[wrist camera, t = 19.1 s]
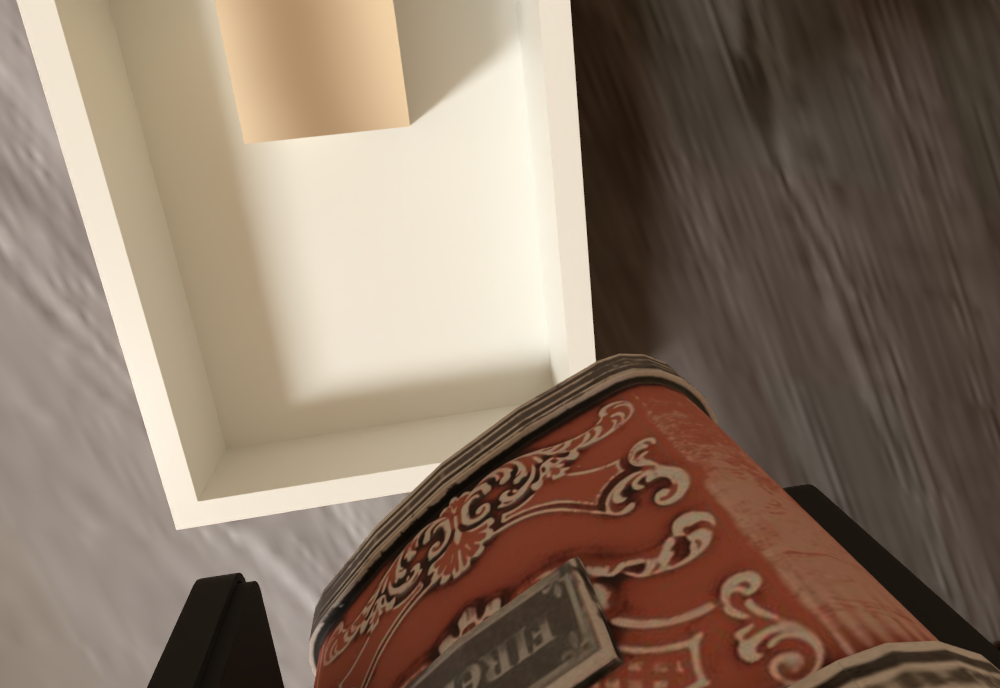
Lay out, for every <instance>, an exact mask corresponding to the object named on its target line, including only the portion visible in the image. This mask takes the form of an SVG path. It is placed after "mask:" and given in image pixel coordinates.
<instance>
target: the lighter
mask: <svg viewBox="0 0 1000 688" xmlns="http://www.w3.org/2000/svg"><path fill="white" fill-rule="evenodd" d="M309 664H310V666H311V669H312V671H313V673H314V676H315V683H314V688H1000V670H999V669H997V668H996V667H995V666H994V665H993V664H992V663H990V662H989V661H988V660H987V659H986V658H985V657H983V656H982V655H981V654H978V653H975V652H971V651H968V650H965V649H962V648H958V647H955V646H952V645H949V644H945V643H942V642H940V641H939V640H938V639H937V638H936V637H935V636H933V635H932V634H931V633H930V632H929V631H928V630H927V629H926V628H925V627H924V626H923V625H922V624H921V623H920V622H919V621H918V620H917V619H916V618H915V617H914V616H913V615H912V614H911V613H910V612H909V611H908V610H907V609H906V608H905V607H904V606H903V605H902V604H901V603H900V602H899V601H897V600H896V599H895V598H894V597H893V596H892V595H891V594H890V593H889V592H888V591H887V590H886V589H885V588H884V587H883V586H882V585H881V584H880V583H879V582H878V581H877V580H876V579H875V578H874V577H873V576H872V575H871V574H870V573H869V572H868V571H867V570H866V569H865V568H864V567H863V566H861V565H860V564H859V563H858V562H857V561H856V560H855V559H854V558H853V557H852V556H851V555H850V554H849V553H848V552H847V551H846V550H845V549H844V548H843V547H842V546H841V545H840V544H839V543H838V542H837V541H836V540H835V539H834V538H833V537H832V536H831V535H830V534H829V533H828V532H827V531H826V530H824V529H823V528H822V527H821V526H820V525H819V524H818V523H817V522H816V521H815V520H814V519H813V518H812V517H811V516H810V515H809V514H808V513H807V512H806V511H805V510H804V509H803V508H802V507H801V506H800V505H799V504H798V503H797V502H796V501H795V500H794V499H793V498H792V497H791V496H790V495H788V494H787V493H786V492H785V491H784V490H783V489H782V488H781V487H780V486H779V485H778V484H777V483H776V482H775V481H774V480H773V479H772V478H771V477H770V476H769V475H768V474H767V473H766V472H765V471H764V470H763V469H762V468H761V467H760V466H759V465H758V464H757V463H756V462H755V461H754V460H752V459H751V458H750V457H749V456H748V455H747V454H746V453H745V452H744V451H743V450H742V449H741V448H740V447H739V446H738V445H737V444H736V443H735V442H734V441H733V440H732V439H731V438H730V437H729V436H728V435H727V434H726V433H725V432H724V431H723V430H722V429H721V428H720V427H719V426H718V423H717V419H716V417H715V415H714V413H713V412H712V410H711V408H710V406H709V404H708V403H707V401H706V399H705V398H704V397H703V396H702V395H701V394H700V393H699V392H698V391H697V390H696V389H695V388H694V387H693V386H691V385H690V384H689V383H688V382H687V381H686V380H685V379H684V378H683V377H682V376H680V375H679V374H678V373H677V372H676V371H675V370H673V369H672V368H671V367H670V366H669V365H668V364H666V363H665V362H662V361H659V360H657V359H654V358H652V357H649V356H647V355H644V354H616V355H614V356H611V357H608V358H605V359H602V360H599V361H596V362H595V363H593V364H591V365H590V366H588V367H586V368H584V369H583V370H581V371H579V372H577V373H576V374H574V375H572V376H571V377H569V378H567V379H565V380H564V381H562V382H560V383H558V384H557V385H555V386H553V387H552V388H550V389H548V390H546V391H545V392H543V393H541V394H539V395H538V396H536V397H534V398H533V399H531V400H529V401H527V402H526V403H524V404H522V405H520V406H519V407H517V408H516V409H514V410H513V411H512V412H510V413H509V414H507V415H506V416H505V417H503V418H502V419H501V420H499V421H498V422H497V423H495V424H494V425H493V426H491V427H490V428H488V429H487V430H486V431H484V432H483V433H482V434H480V435H479V436H478V437H476V438H475V439H474V440H472V441H471V442H469V443H468V444H467V445H465V446H464V447H463V448H461V449H460V450H459V451H457V452H456V453H454V454H453V455H452V456H450V457H449V458H448V459H446V460H445V461H444V462H442V463H441V464H440V465H439V466H438V467H437V468H436V469H435V470H434V471H433V472H432V473H431V474H430V475H428V476H427V477H426V478H425V479H424V480H423V481H422V482H421V483H420V484H419V485H418V486H417V487H416V488H415V489H414V490H413V491H412V492H411V493H410V494H409V495H408V496H407V497H406V498H405V499H404V500H403V501H402V502H401V503H400V504H398V505H397V506H396V507H395V508H394V509H393V510H392V511H391V512H390V513H389V514H388V515H387V516H386V517H385V518H384V519H383V520H382V521H381V522H380V523H379V524H378V525H377V526H376V527H375V528H374V529H373V530H372V532H371V533H370V534H369V535H368V537H367V538H366V539H365V540H364V542H363V543H362V544H361V545H360V546H359V548H358V549H357V550H356V551H355V553H354V554H353V555H352V556H351V557H350V559H349V560H348V561H347V562H346V564H345V565H344V566H343V567H342V569H341V570H340V571H339V572H338V573H337V575H336V576H335V577H334V578H333V580H332V581H331V582H330V583H329V584H328V586H327V587H326V588H325V589H324V591H323V593H322V595H321V597H320V599H319V601H318V603H317V605H316V608H315V613H314V619H313V624H312V630H311V635H310V640H309Z"/></svg>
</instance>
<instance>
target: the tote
mask: <svg viewBox="0 0 1000 688" xmlns="http://www.w3.org/2000/svg"><path fill="white" fill-rule="evenodd" d="M17 3H18V7H19V10H20V13H21V16H22V20H23V23H24V26H25V30H26V33H27V36H28V40H29V43H30V46H31V50H32V53H33V56H34V60H35V63H36V66H37V69H38V73H39V76H40V79H41V83H42V86H43V89H44V93H45V96H46V99H47V103H48V106H49V109H50V112H51V116H52V119H53V122H54V126H55V129H56V132H57V136H58V139H59V142H60V146H61V149H62V152H63V156H64V159H65V162H66V165H67V169H68V172H69V175H70V179H71V182H72V185H73V189H74V192H75V195H76V199H77V202H78V205H79V209H80V212H81V215H82V218H83V222H84V225H85V228H86V232H87V235H88V238H89V242H90V245H91V248H92V252H93V255H94V258H95V261H96V265H97V268H98V271H99V275H100V278H101V281H102V285H103V288H104V291H105V295H106V298H107V301H108V305H109V308H110V311H111V314H112V318H113V321H114V324H115V328H116V331H117V334H118V338H119V341H120V344H121V348H122V351H123V354H124V357H125V361H126V364H127V367H128V371H129V374H130V377H131V381H132V384H133V387H134V391H135V394H136V397H137V401H138V404H139V407H140V410H141V414H142V417H143V420H144V424H145V427H146V430H147V434H148V437H149V440H150V444H151V447H152V450H153V453H154V457H155V460H156V463H157V467H158V470H159V473H160V477H161V480H162V483H163V487H164V490H165V493H166V497H167V500H168V503H169V506H170V510H171V513H172V516H173V520H174V523H175V526H176V530H179V529H186V528H192V527H198V526H204V525H210V524H216V523H222V522H228V521H235V520H241V519H247V518H253V517H259V516H265V515H271V514H277V513H283V512H290V511H296V510H302V509H308V508H314V507H320V506H326V505H332V504H339V503H345V502H351V501H357V500H363V499H369V498H375V497H381V496H387V495H394V494H400V493H406V492H412V491H413V490H414V489H415V488H416V487H417V486H418V485H419V484H420V483H421V482H422V481H423V480H424V479H425V478H426V477H427V476H428V475H430V474H431V473H432V472H433V471H434V470H435V469H436V468H437V467H438V466H439V465H440V464H441V463H442V462H444V461H445V460H446V459H448V458H449V457H450V456H452V455H453V454H454V453H456V452H457V451H459V450H460V449H461V448H463V447H464V446H465V445H467V444H468V443H469V442H471V441H472V440H474V439H475V438H476V437H478V436H479V435H480V434H482V433H483V432H484V431H486V430H487V429H488V428H490V427H491V426H493V425H494V424H495V423H497V422H498V421H499V420H501V419H502V418H503V417H505V416H506V415H507V414H509V413H510V412H512V411H513V410H514V409H516V408H517V407H519V406H520V405H522V404H524V403H526V402H527V401H529V400H531V399H533V398H534V397H536V396H538V395H539V394H541V393H543V392H545V391H546V390H548V389H550V388H552V387H553V386H555V385H557V384H558V383H560V382H562V381H564V380H565V379H567V378H569V377H571V376H572V375H574V374H576V373H577V372H579V371H581V370H583V369H584V368H586V367H588V366H590V365H591V364H593V363H595V362H596V356H595V342H594V328H593V314H592V300H591V286H590V272H589V258H588V244H587V230H586V216H585V202H584V188H583V174H582V160H581V146H580V132H579V118H578V104H577V90H576V76H575V62H574V48H573V34H572V20H571V6H570V0H393V4H394V11H395V19H396V26H397V33H398V40H399V48H400V55H401V62H402V70H403V77H404V84H405V92H406V99H407V106H408V114H409V121H410V126H408V127H399V128H390V129H381V130H371V131H362V132H353V133H343V134H334V135H325V136H316V137H306V138H297V139H288V140H278V141H269V142H260V143H251V144H244V139H243V134H242V129H241V125H240V120H239V115H238V110H237V106H236V101H235V96H234V91H233V87H232V82H231V77H230V72H229V68H228V63H227V58H226V53H225V49H224V44H223V39H222V35H221V30H220V25H219V20H218V16H217V11H216V6H215V1H214V0H17Z"/></svg>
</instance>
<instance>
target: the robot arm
mask: <svg viewBox="0 0 1000 688" xmlns="http://www.w3.org/2000/svg"><path fill="white" fill-rule="evenodd" d="M782 489H783V490H784V491H785V492H786V493H787V494H788V495H790V496H791V497H792V498H793V499H794V500H795V501H796V502H797V503H798V504H799V505H800V506H801V507H802V508H803V509H804V510H805V511H806V512H807V513H808V514H809V515H810V516H811V517H812V518H813V519H814V520H815V521H816V522H817V523H818V524H819V525H820V526H821V527H822V528H823V529H824V530H826V531H827V532H828V533H829V534H830V535H831V536H832V537H833V538H834V539H835V540H836V541H837V542H838V543H839V544H840V545H841V546H842V547H843V548H844V549H845V550H846V551H847V552H848V553H849V554H850V555H851V556H852V557H853V558H854V559H855V560H856V561H857V562H858V563H859V564H860V565H861V566H863V567H864V568H865V569H866V570H867V571H868V572H869V573H870V574H871V575H872V576H873V577H874V578H875V579H876V580H877V581H878V582H879V583H880V584H881V585H882V586H883V587H884V588H885V589H886V590H887V591H888V592H889V593H890V594H891V595H892V596H893V597H894V598H895V599H896V600H897V601H899V602H900V603H901V604H902V605H903V606H904V607H905V608H906V609H907V610H908V611H909V612H910V613H911V614H912V615H913V616H914V617H915V618H916V619H917V620H918V621H919V622H920V623H921V624H922V625H923V626H924V627H925V628H926V629H927V630H928V631H929V632H930V633H931V634H932V635H933V636H935V637H936V638H937V639H938V640H939V641H940V642H942V643H945V644H949V645H952V646H955V647H958V648H962V649H965V650H968V651H971V652H975V653H978V654H981V655H982V656H983V657H985V658H986V659H987V660H988V661H989V662H990V663H992V664H993V665H994V666H995V667H996V668H997V669H999V670H1000V651H999V650H998V649H997V648H996V647H995V646H993V645H992V644H991V643H990V642H989V641H988V640H987V639H986V638H984V637H983V636H982V635H981V634H980V633H979V632H978V631H977V630H975V629H974V628H973V627H972V626H971V625H970V624H969V623H968V622H966V621H965V620H964V619H963V618H962V617H961V616H960V615H959V614H957V613H956V612H955V611H954V610H953V609H952V608H951V607H950V606H949V605H947V604H946V603H945V602H944V601H943V600H942V599H941V598H940V597H938V596H937V595H936V594H935V593H934V592H933V591H932V590H931V589H929V588H928V587H927V586H926V585H925V584H924V583H923V582H922V581H920V580H919V579H918V578H917V577H916V576H915V575H914V574H913V573H912V572H910V571H909V570H908V569H907V568H906V567H905V566H904V565H903V564H901V563H900V562H899V561H898V560H897V559H896V558H895V557H894V556H892V555H891V554H890V553H889V552H888V551H887V550H886V549H885V548H883V547H882V546H881V545H880V544H879V543H878V542H877V541H876V540H874V539H873V538H872V537H871V536H870V535H869V534H868V533H867V532H866V531H864V530H863V529H862V528H861V527H860V526H859V525H858V524H857V523H855V522H854V521H853V520H852V519H851V518H850V517H849V516H848V515H846V514H845V513H844V512H843V511H842V510H841V509H840V508H839V507H837V506H836V505H835V504H834V503H833V502H832V501H831V500H830V499H828V498H827V497H826V496H825V495H824V494H823V493H822V492H821V491H820V490H818V489H817V488H816V487H814V486H813V485H808V484H807V485H800V486H794V487H787V488H782ZM147 688H284V685H283V681H282V677H281V673H280V668H279V664H278V660H277V656H276V652H275V648H274V644H273V640H272V635H271V631H270V627H269V623H268V619H267V615H266V611H265V607H264V603H263V598H262V594H261V590H260V587H259V585H258V583H257V582H256V581H252V582H246V581H245V578H244V577H243V575H242V574H241V573H234V574H228V575H221V576H215V577H208V578H202V579H199V580H197V581H196V582H195V584H194V585H193V588H192V590H191V592H190V594H189V596H188V599H187V601H186V603H185V605H184V607H183V610H182V612H181V614H180V616H179V618H178V621H177V623H176V625H175V627H174V629H173V632H172V634H171V636H170V638H169V640H168V643H167V645H166V647H165V649H164V651H163V654H162V656H161V658H160V660H159V662H158V665H157V667H156V669H155V671H154V673H153V676H152V678H151V680H150V682H149V684H148V687H147Z"/></svg>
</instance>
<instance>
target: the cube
mask: <svg viewBox="0 0 1000 688" xmlns="http://www.w3.org/2000/svg"><path fill="white" fill-rule="evenodd" d="M214 1H215V6H216V11H217V16H218V20H219V25H220V30H221V35H222V39H223V44H224V49H225V53H226V58H227V63H228V68H229V72H230V77H231V82H232V87H233V91H234V96H235V101H236V106H237V110H238V115H239V120H240V125H241V129H242V134H243V139H244V144H251V143H260V142H269V141H278V140H288V139H297V138H306V137H316V136H325V135H334V134H343V133H353V132H362V131H371V130H381V129H390V128H399V127H408V126H410V121H409V114H408V106H407V99H406V92H405V84H404V77H403V70H402V62H401V55H400V48H399V40H398V33H397V26H396V19H395V11H394V4H393V0H214Z"/></svg>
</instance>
